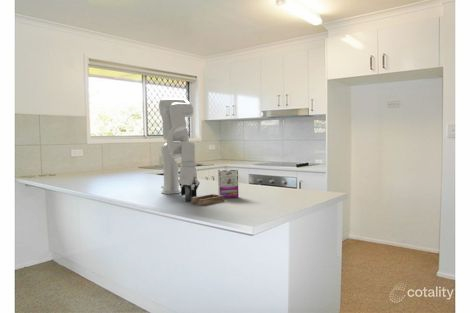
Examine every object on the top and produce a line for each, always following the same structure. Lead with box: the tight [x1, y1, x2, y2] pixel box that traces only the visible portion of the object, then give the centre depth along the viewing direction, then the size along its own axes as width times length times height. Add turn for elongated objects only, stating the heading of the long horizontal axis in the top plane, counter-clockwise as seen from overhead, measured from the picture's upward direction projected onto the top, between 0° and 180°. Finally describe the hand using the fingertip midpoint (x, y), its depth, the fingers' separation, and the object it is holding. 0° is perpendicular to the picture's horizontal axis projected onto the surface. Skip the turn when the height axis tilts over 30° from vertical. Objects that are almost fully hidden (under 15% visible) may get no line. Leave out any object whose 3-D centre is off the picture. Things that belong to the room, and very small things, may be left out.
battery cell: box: [184, 185, 193, 203], centre depth 191 cm, size 4×4×10 cm
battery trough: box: [190, 193, 225, 207], centre depth 187 cm, size 9×16×3 cm, turn 140°
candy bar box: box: [217, 168, 239, 199], centre depth 201 cm, size 11×5×16 cm, turn 105°
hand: (188, 195), depth 191 cm, fingers open, 7 cm apart
